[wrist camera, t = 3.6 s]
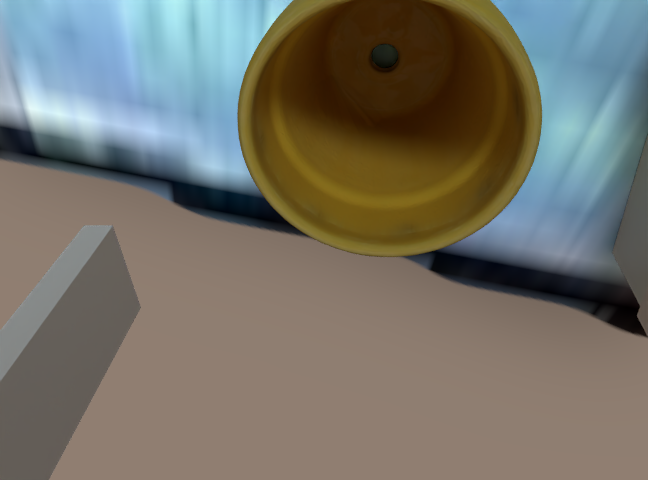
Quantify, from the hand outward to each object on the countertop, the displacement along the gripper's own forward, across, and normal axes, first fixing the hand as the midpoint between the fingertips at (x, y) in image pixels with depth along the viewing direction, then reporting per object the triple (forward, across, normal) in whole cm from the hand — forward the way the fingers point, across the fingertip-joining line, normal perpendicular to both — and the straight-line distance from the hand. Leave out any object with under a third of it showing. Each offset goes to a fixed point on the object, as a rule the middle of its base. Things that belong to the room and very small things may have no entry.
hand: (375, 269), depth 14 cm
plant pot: (+17, 0, 0) cm, 17 cm away
